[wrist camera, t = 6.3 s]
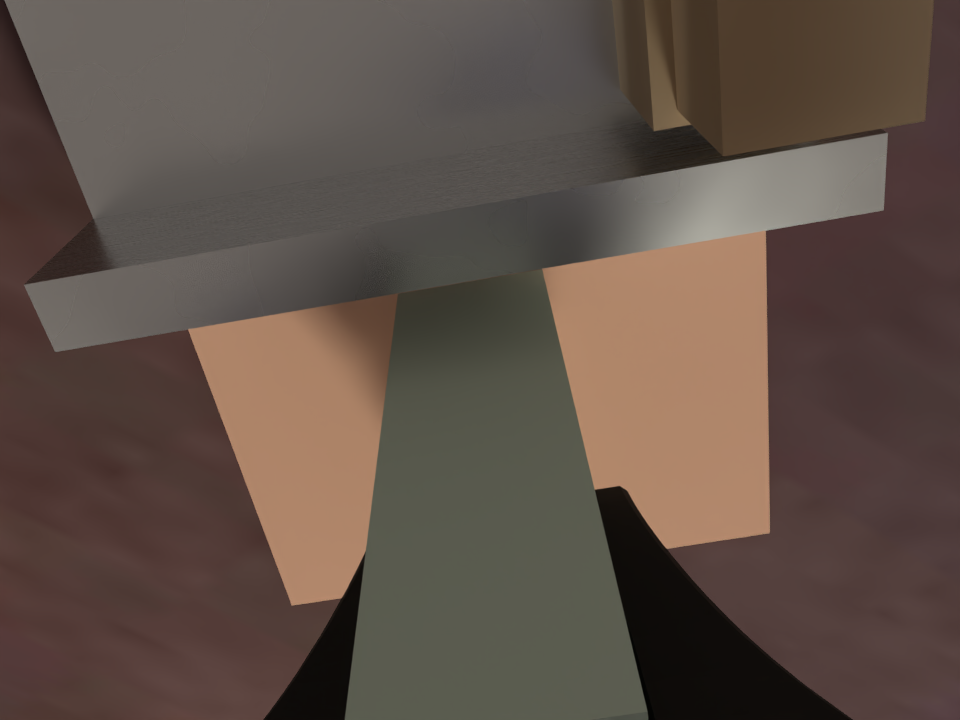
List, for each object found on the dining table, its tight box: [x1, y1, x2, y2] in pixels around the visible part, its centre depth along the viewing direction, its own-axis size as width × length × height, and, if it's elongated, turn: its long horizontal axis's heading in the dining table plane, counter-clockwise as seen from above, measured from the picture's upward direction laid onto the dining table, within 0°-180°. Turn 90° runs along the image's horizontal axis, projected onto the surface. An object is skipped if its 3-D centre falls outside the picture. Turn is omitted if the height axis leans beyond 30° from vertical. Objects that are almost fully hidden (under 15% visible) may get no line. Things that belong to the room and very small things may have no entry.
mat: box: [188, 231, 770, 605], centre depth 16 cm, size 10×7×1 cm
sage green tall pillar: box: [345, 269, 648, 720], centre depth 12 cm, size 2×6×9 cm, turn 10°
